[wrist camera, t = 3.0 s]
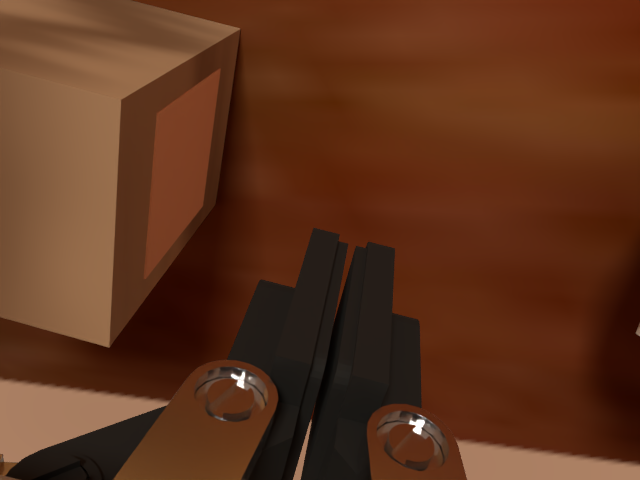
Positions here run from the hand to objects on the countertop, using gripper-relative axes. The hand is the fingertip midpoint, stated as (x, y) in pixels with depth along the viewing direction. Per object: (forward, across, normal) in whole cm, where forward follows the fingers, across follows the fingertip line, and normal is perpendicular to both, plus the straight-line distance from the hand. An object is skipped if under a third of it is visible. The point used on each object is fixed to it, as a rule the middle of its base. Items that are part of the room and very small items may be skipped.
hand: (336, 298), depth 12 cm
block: (+8, +8, 0) cm, 11 cm away
